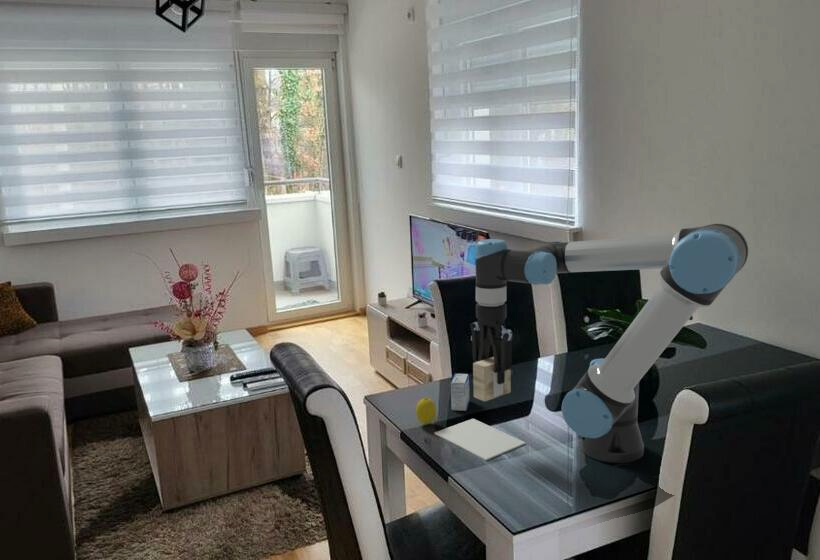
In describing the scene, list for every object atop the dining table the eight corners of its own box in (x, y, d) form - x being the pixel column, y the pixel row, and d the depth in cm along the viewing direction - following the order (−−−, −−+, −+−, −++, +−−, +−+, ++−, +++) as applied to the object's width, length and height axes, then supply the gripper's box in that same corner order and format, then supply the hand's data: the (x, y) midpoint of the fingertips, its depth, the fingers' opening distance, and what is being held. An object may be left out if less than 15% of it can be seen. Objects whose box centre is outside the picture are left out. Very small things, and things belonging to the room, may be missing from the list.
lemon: (413, 422, 185) (412, 395, 184) (431, 419, 187) (431, 392, 186) (420, 430, 180) (419, 402, 179) (439, 426, 182) (438, 399, 181)
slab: (484, 401, 163) (483, 367, 161) (473, 397, 167) (473, 363, 165) (510, 392, 169) (510, 358, 167) (499, 388, 172) (499, 355, 170)
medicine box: (466, 411, 192) (466, 383, 190) (451, 410, 193) (450, 382, 191) (469, 400, 200) (469, 373, 198) (454, 400, 200) (454, 373, 199)
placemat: (525, 444, 170) (525, 442, 170) (485, 460, 162) (485, 459, 162) (473, 419, 186) (473, 418, 186) (434, 433, 178) (434, 432, 178)
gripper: (527, 306, 158) (527, 398, 163) (479, 294, 171) (479, 379, 176) (504, 311, 154) (505, 406, 158) (456, 299, 167) (458, 386, 172)
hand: (491, 392), depth 167 cm, fingers closed on slab, 4 cm apart
